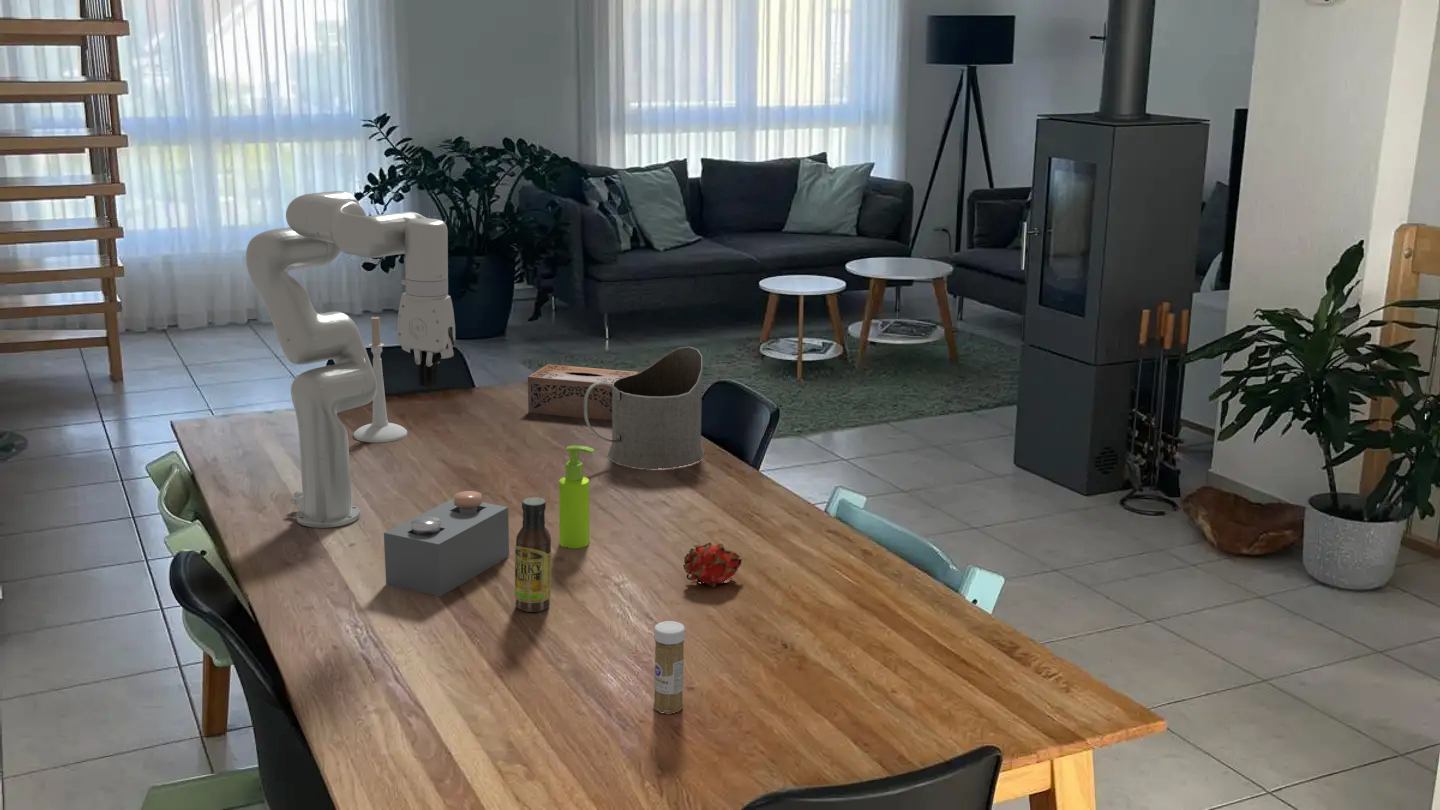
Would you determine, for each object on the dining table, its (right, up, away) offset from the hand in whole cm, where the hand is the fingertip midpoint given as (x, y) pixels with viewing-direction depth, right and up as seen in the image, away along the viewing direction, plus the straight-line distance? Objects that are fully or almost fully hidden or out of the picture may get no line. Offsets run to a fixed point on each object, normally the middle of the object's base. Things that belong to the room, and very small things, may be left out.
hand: (427, 384), depth 255 cm
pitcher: (+36, -17, +72) cm, 82 cm away
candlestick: (-30, -11, +85) cm, 90 cm away
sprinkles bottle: (+46, -50, -47) cm, 83 cm away
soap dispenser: (+26, -31, +17) cm, 44 cm away
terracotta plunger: (+6, -28, +7) cm, 30 cm away
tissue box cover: (+18, -6, +111) cm, 112 cm away
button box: (+3, -35, +3) cm, 35 cm away
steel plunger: (+1, -32, -4) cm, 32 cm away
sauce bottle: (+21, -40, -12) cm, 47 cm away
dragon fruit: (+53, -37, 0) cm, 64 cm away
